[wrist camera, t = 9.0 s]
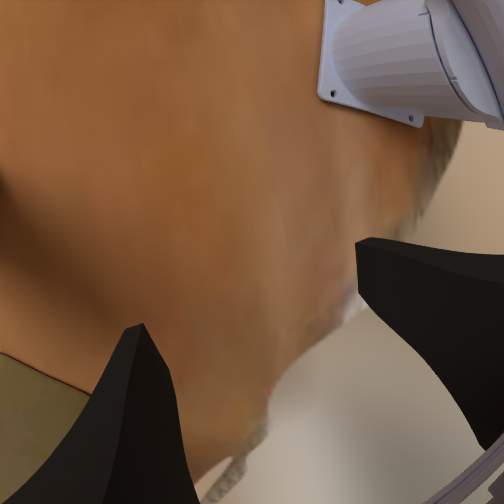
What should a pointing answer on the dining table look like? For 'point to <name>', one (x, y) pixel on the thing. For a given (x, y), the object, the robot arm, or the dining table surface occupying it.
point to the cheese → (31, 421)
